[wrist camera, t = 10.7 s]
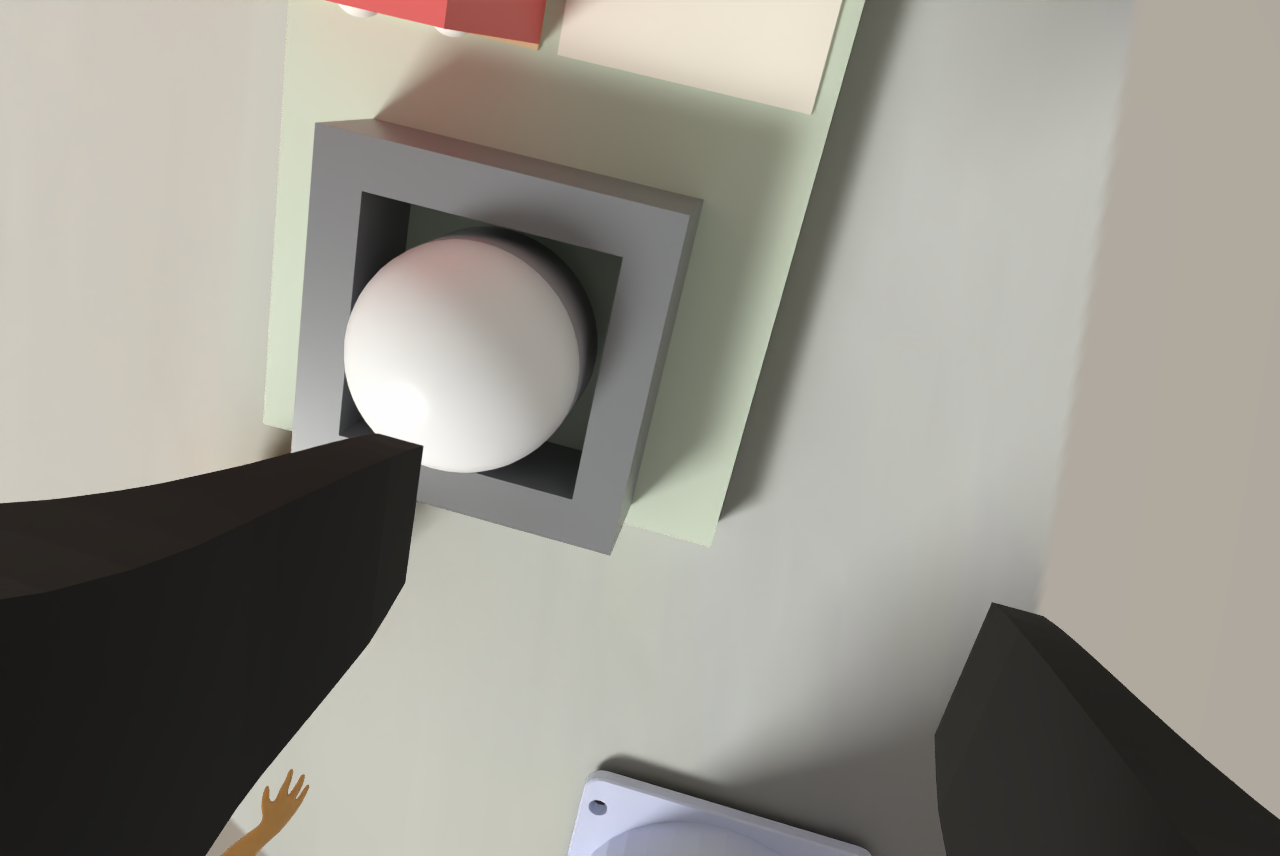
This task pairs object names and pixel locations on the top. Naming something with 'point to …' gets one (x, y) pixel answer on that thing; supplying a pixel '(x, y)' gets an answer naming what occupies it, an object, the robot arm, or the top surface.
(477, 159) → the housing
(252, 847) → the figurine
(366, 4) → the die
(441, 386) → the white ball
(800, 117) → the board
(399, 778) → the top surface
